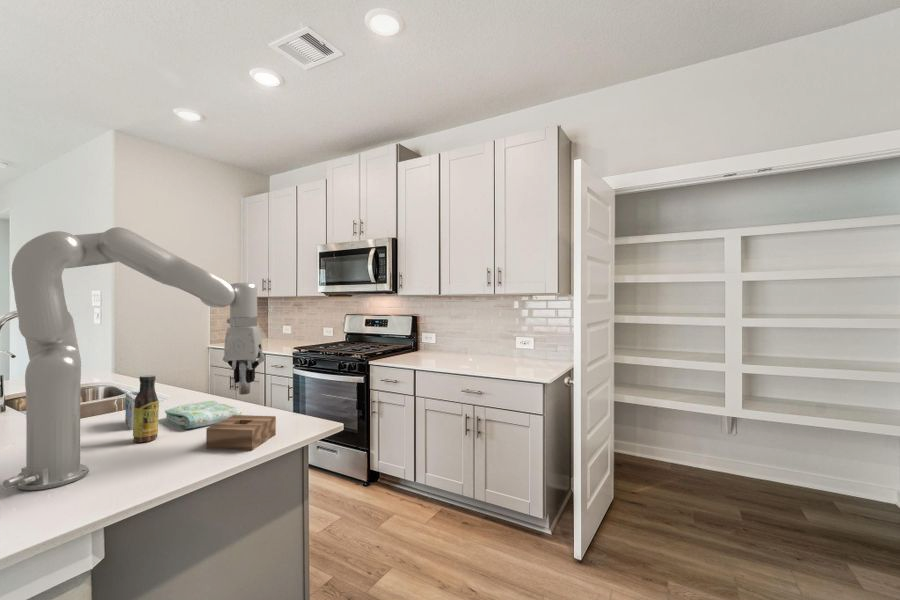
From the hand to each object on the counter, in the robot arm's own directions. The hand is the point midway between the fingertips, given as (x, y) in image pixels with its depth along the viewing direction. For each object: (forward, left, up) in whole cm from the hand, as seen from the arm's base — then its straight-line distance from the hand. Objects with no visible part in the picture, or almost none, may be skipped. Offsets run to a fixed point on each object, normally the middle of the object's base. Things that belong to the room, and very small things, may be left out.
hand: (244, 381), depth 129 cm
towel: (+20, +27, -19) cm, 39 cm away
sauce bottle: (-2, +30, -19) cm, 36 cm away
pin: (0, 0, -4) cm, 4 cm away
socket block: (0, 0, -19) cm, 19 cm away
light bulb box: (+12, +44, -19) cm, 50 cm away
